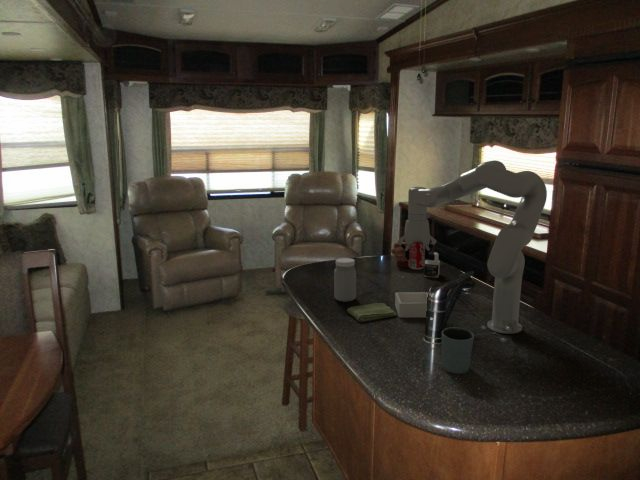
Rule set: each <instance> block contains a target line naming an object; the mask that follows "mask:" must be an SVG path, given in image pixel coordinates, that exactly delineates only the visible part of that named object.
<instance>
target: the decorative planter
mask: <svg viewBox="0 0 640 480" xmlns="http://www.w3.org/2000/svg"><path fill="white" fill-rule="evenodd" d="M402 243H403V244H404V245H406V243H405V241H404V240H403V241H402ZM425 248H426V247H425ZM390 252H391V254H392V255H394V256H395V259H396V265H397V266H398V267H400V268H406V269H407V268H408V269H409V268H410V267H409V266H408V260H407V258H405V250H404V249H403V248H402V247H401V245H400V244H399V243H398V240H396V241H395V242H394V243H393V246H392V248H391V249H390ZM410 269H411V268H410Z"/></svg>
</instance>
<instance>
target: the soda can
mask: <svg viewBox="0 0 640 480" xmlns="http://www.w3.org/2000/svg"><path fill="white" fill-rule="evenodd" d="M408 251H409V260H408V266H409V267H410V269H412V270H421V269H424V266H425V261H426V260H425V245H424V244H423V243H422V241H413V243H412V244H411V245H410V246H409V249H408Z"/></svg>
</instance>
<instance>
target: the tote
mask: <svg viewBox="0 0 640 480" xmlns="http://www.w3.org/2000/svg"><path fill="white" fill-rule="evenodd" d="M428 294H429V293H428V291H427V292H425V291H423V292H422V291H421V292H420V291H419V292H417V291H416V292H415V291H410V292H409V291H408V292H406V291H405V292H403V291H402V292H395V296H394V299H395V300H394V301H395V302H394V305H395V309H396V314H397V315H398V318H427V317H426V311H427V297H428Z"/></svg>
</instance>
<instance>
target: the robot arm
mask: <svg viewBox="0 0 640 480" xmlns="http://www.w3.org/2000/svg"><path fill="white" fill-rule="evenodd" d="M484 189H489V190H491V191H494V192H496V193H499V194H502V195H504V196H507V197H510V198H516V199H517V198H520V201H519V204H518V205H517V207H516V209H515V211H514V215H513V217H512V219H511V220H510V223H509V224H506V225H504V226H503V227H502V228H501V229H500V231H499V232H498V233H497V236H496V238H495V241H494V243H493V246H492V249H491V251H490V253H489V255H488V256H489V257H488V259H487V263H486V264H487V269H488V272H489V273H490V275H491V276H492V277H494V284H493V285H494V287H493V296H492V297H493V298H492V312H491V313H492V314H491V319H490V320H488V321H487V328H488V329H489V330H491V331H493V332H496V333H500V334H506V335H507V334H510V335H511V334H512V335H513V334H519V333H520V332H522V331H523V326H522V324H521V323H519V318H520V317H519V315H520V306H521V305H520V304H521V302H520V301H521V291H522V280H523V274H524V270H525V269H524V268H525V262H526V261H525V255H524V253H523V251H522V250H523V248H525V247H526V246H528V245H529V243H531V241H532V240H533V237H534V234H535V231H536V229H537V226H538V224H539V222H540V218H541V216H542V213H543V210H544V209H545V205H546V202H547V195H548V192H547V187H546V184H545V182H544V180H543V179H542V177H541V176H540V175H539V174H537V173H536V172H534V171H532V170H523V171H519V172H515V171H512V170H509V169H507V168H506V166H505V164H504V163H503V162H502V161H499V160H494V159H493V160H487V161H483V162H481V163H480V164H478V165H477V167H475V168H472V169H469V170H467V171H465V172H463V173H461V174H459V176H458V177H457V178H455V179H454V180H452V181H450V182H447V183H445V184H443V185H441V186H436V187H432V188H426V187H424V186H423V187H422V186H412V187H409V189H408V195H407V196H408V197H407V198H408V201H407V202H408V204H407V207H408V209H407V212H408V213H407V219H406V220H405V225H404V234H403V236H401V237H400V238H399V239H398V240H397V241H398V243H399V244H400V245H401V247H402V248H403V249H404V250H405V258H407V260H409V251H408V249H409V246H410V245H411V244H412V243H413V241H422V243H423V244H424V245H425V247H426V248H425V261H426V260H427V258H429V252H430V250H431V249H432V248H433V247H434V246H435V245H436V243H438V241H437V239H435V238H434V237H433V236H432V235H431V234H430V223H429V220H428V219H429V218H431V214H429V213H428V208H436V207H439V206H442V205H443V206H444V205H446V204H448V203H451V202H453V201H455V200H458V199H461V198H463V197H466V196H470V195H472V194H474V193H477V192H479V191H481V190H484ZM403 240H404V241H405V243H406V245H404V244H403V243H402V241H403Z"/></svg>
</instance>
